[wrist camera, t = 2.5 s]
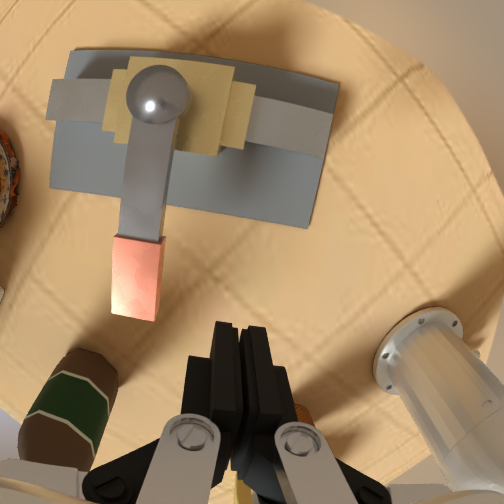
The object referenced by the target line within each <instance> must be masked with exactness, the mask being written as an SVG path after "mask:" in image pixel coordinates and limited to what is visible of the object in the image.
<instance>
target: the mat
mask: <svg viewBox="0 0 504 504" xmlns="http://www.w3.org/2000/svg"><path fill="white" fill-rule="evenodd" d="M130 56H135V57H154V58H167V59H178V60H188V61H197V62H205V63H212V64H219V65H226V66H232V67H235V81H237V82H242V83H248V84H253V85H256V89H255V94H254V96H259V97H264V98H269V99H274V100H278V101H283V102H287V103H291V104H296V105H300V106H304V107H308V108H312V109H316V110H319V111H323V112H327V113H330V114H334V109H335V104H336V98H337V93H338V88H339V84H336V83H332V82H329V81H325V80H322V79H318V78H315V77H311V76H307V75H303V74H299V73H295V72H291V71H287V70H282V69H278V68H273V67H268V66H264V65H259V64H253V63H248V62H242V61H237V60H230V59H224V58H217V57H210V56H202V55H194V54H184V53H174V52H161V51H144V50H76V51H70V55H69V59H68V63H67V68H66V72H65V77H64V79H111V78H112V74H113V69H125V70H127V68H128V64H129V60H130ZM102 126H103V123H96V122H79V121H57V120H56V127H55V134H54V142H53V151H52V161H51V173H50V188H52V189H60V190H68V191H75V192H83V193H90V194H97V195H105V196H112V197H119V198H121V195H122V185H123V177H124V169H125V161H126V154H127V147H128V144H122V143H113V142H114V135H115V132H111V131H102ZM328 138H329V137H328ZM325 152H326V151H325ZM323 161H324V158H321V157H316V156H312V155H307V154H303V153H299V152H294V151H290V150H285V149H281V148H276V147H271V146H266V145H261V144H256V143H251V142H245V143H244V148H243V149H238V148H232V147H226V146H222V148H221V153H220V154H219V155H218V156H211V155H205V154H199V153H192V152H186V151H179V150H174V155H173V161H172V168H171V174H170V181H169V188H168V195H167V202H166V205H171V206H178V207H184V208H190V209H196V210H202V211H208V212H214V213H220V214H226V215H232V216H237V217H243V218H249V219H254V220H260V221H266V222H271V223H277V224H282V225H287V226H293V227H298V228H303V229H308V225H309V221H310V217H311V213H312V209H313V205H314V200H315V196H316V192H317V187H318V183H319V179H320V174H321V170H322V165H323Z"/></svg>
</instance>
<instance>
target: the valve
mask: <svg viewBox="0 0 504 504" xmlns="http://www.w3.org/2000/svg"><path fill="white" fill-rule="evenodd" d="M153 65H166V66H170V67H172V68H174V69H175V70H177V71H178V72H179V73H180V74H181V75H182V76H183V78H184V79H185V80H186V81H187V83H188V84H189V86H190V88H191V90H192V104H191V107H190V110H189V111H188V113H187V114H186V116H185V117H184V118H183V119H181V120H180V122H179V127H178V132H177V138H176V144H175V149H174V150H179V151H186V152H192V153H199V154H205V155H211V156H218V155H219V154H220V153H221V148H222V146H226V147H232V148H238V149H243V148H244V143H245V142H251V143H256V144H261V145H266V146H271V147H276V148H281V149H285V150H290V151H294V152H299V153H303V154H307V155H312V156H316V157H321V158H324V156H325V151H326V147H327V142H328V137H329V133H330V128H331V123H332V118H333V114H330V113H327V112H323V111H319V110H316V109H312V108H308V107H304V106H300V105H296V104H291V103H287V102H283V101H278V100H274V99H269V98H264V97H259V96H254V94H255V89H256V85H253V84H248V83H242V82H237V81H235V67H232V66H226V65H219V64H212V63H205V62H197V61H188V60H178V59H167V58H154V57H135V56H130V60H129V64H128V68H127V70H125V69H113V74H112V78H111V79H53V81H52V86H51V91H50V96H49V102H48V107H47V114H46V120H57V121H79V122H96V123H103V126H102V131H111V132H115V135H114V142H113V143H122V144H128V141H129V134H130V128H131V122H132V117H133V115H132V114H131V113H130V111H129V109H128V107H127V103H126V92H127V88H128V86H129V83H130V82H131V80H132V79H133V77H134V76H135V75H136V74H137V73H138V72H140V71H141V70H143V69H144V68H146V67H149V66H153Z"/></svg>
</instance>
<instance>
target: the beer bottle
mask: <svg viewBox="0 0 504 504" xmlns="http://www.w3.org/2000/svg"><path fill="white" fill-rule="evenodd" d="M117 392H118V382H117V371H116V370H115V369H114V368H113V367H112V366H111V365H110V364H109V363H108V362H107V361H106V360H105V359H104V358H103V357H102V355H101V354H97V353H93V352H90V351H87V350H83V349H80V348H78V349H76V350H74V351H73V352H71V353H70V354H68V355H66V356H65V357H63V358H62V360H61V361H60V362H59V364H58V365H57V366H56V368H55V369H54V371H53V372H52V374H51V376H50V377H49V379H48V380H47V382H46V384H45V385H44V387H43V389H42V390H41V392H40V394H39V395H38V397H37V398H36V400H35V402H34V404H33V405H32V407H31V409H30V410H29V412H28V414H27V416H26V417H25V419H24V421H23V424H22V426H21V428H20V431H19V434H18V452H19V457H20V460H25V461H30V462H36V463H42V464H48V465H55V466H63V467H71V468H77V470H78V471H81V472H89V471H90V468H91V466H92V464H93V462H94V459H95V456H96V453H97V450H98V447H99V444H100V441H101V438H102V436H103V433H104V430H105V427H106V424H107V421H108V418H109V416H110V413H111V410H112V407H113V405H114V402H115V399H116V395H117Z"/></svg>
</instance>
